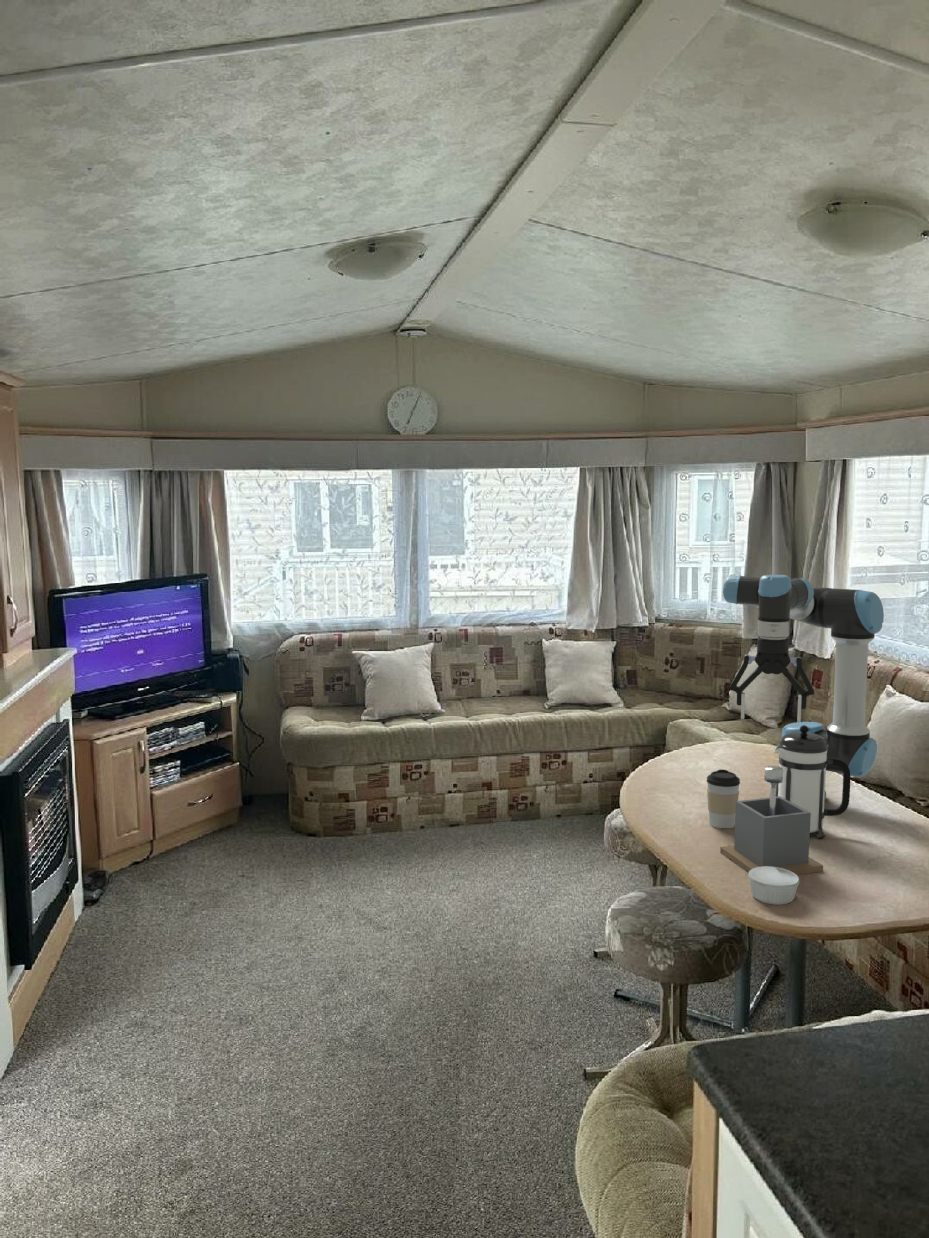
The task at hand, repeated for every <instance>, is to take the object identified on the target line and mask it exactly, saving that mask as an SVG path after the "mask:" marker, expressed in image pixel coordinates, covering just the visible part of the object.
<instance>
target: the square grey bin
mask: <svg viewBox="0 0 929 1238" xmlns="http://www.w3.org/2000/svg"><path fill="white" fill-rule="evenodd" d="M769 810H770V796H769V797H763V798H761V797H760V798H753V799H744V800H738V801H736V810H735V826H734V843H733V845H727V846H720V851H719V853H720V854H722V855H723V856H724V857H726V858H728V860H730V859H731V860H730V861H731V862H733V863H734V864H736V865H737V866H738V867H740V868H741V869H743V870H744V871H746V872H747V873H749V871H750V870H751V869H753V868H756V867H763V866H770V867H778V868H783V869H786V870H789V871H791V872H793V873H794V874H796V875H797V876H799V875H805V874H813V873H820V872H821V873H822V872H824V865H823V864H821V863H820V862H819V861H817V860H816V859H814V858H812V857H810V838H811V837H810V834H811V833H810V816H811V813H810V812H808V811H806V810H804V809H803V808H801V807H799V806H797V805H795V804H793V803H792V802H790V801H788V800H786V799H784V798H782V797H781V796H778V797H776V806H775V815H774V816H769Z"/></svg>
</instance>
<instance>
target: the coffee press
mask: <svg viewBox="0 0 929 1238" xmlns="http://www.w3.org/2000/svg"><path fill="white" fill-rule="evenodd" d="M808 730H809V729H808V727H807V726H805V725H803V726H801V727H800V731H801V732H792V733H788V734H786V735H784V736H783V737H782V736H781V739H780V740H778V744H777V745H776V747H775V748H774V750H773V752H772V753H773V754H777V755H778V763H779V764H778V765H779V767H782V768H783V782H782V783H779V787H778V796H781V797H782V798H784V799H786V800H788V801H790V802H792V803H793V804H795V805H797V806H799V807H801V808H803V809H804V810H806V811H808V812H810V813H811V816H810V834H811V833H814V834H815V835H816V837H817V838H818V839H819V840H821V839H822V840H823V839H825V838H826V834H825V832H824V830H823V826H824V819H825V817H836V816H839V815H842V814H844V813H845V811H847V810H848V807H849V804H850V796H851V794H850V793H851V776H850V770H849V768H848V766H847V765H846V763H845V762H844V761H842V760H840V759H837V758H833V759H830V758H829V759H828V758H826V757H827V751H828V748H829V746H828V744H827V743H826V741H825V739H824V738H823V737H821V736H819V735H817V734H813V733H808ZM827 764H833V765H837V766H839V767H841V769H842V771H843V774H842V796H841V802H840V805H839V806H838V807H836V808H825V802H824V799H825V791H826V774H827V771H826V767H827Z"/></svg>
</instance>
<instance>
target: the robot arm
mask: <svg viewBox="0 0 929 1238" xmlns="http://www.w3.org/2000/svg"><path fill="white" fill-rule="evenodd" d="M722 586H723V587H722V595H723V598H724V600H725V601H726V602H727V603H728V604H735V605H744V606H749V607H753V608H754V607H755V608H758V616H757V618H758V619H757V635H758V638H757V643H756V646H757V648H756V655H749V653H745V654H744V656H743V663H742V664H741V665H740V668H739V670H738V671H737V673H736V674H735V676H734V678H733V680H732V682H731V683H730V685H729V690H730V691H732V692H735V693H736V705H737V706H741V707H740V720H745V712H746V711H745V707H746V705H745V704H746V691H744V690H746V689H747V688H748V687H749V686H750V685H751V683H752V682H753V681H755V680H756V678H757V677H758V676H759V675H760V674H761V673H764V674H765V675H771V674H773V675H779V674H782V675H783V676H784V677H785V678H786V679H787V680H788V681H789V683H790V684H791V685H792V686H793V688H794V689H796V691H797V692H798V695H797V696H798V697H797V718H796V719H797V721H796V722H792V723H791V722H790V723H788V724H786V725H785V726H783V727H782V730H781V731H782V732H781V738H782V737H783V736H784V735H786V734H788V733H792V732H801V731H800V727H801V726H803V725H805V726H807V727H808V729H809V730H808V733H813V734H817V735H819V736H821V737H823V738H824V739H825V741H826V743H827V744H828V746H829V748H828V751H827V757H826V758H828V759H829V758H830V759H833V758H837V759H840V760H842V761H844V762H845V763H846V765H847V766H848V768H849V770H850V777H858V778H862V777H864V776H866V775H867V774H868V773H869V772H870V771H871V769H872V767H873V766H874V762H875V759H876V757H877V753H878V752H877V751H878V745H877V740H876V739H874V738H873V737H870V733H871V730H870V728H869V727H867V726H866V724H865V723H866V722H865V720H866V719H865V718H866V704H867V703H866V702H867V701H866V699H867V681H868V680H867V679H868V658H869V657H868V656H869V654H868V653H869V644H870V642H872V641H873V640H874V639H875V634H878V633H880V632H881V630H882V628H883V623H884V618H885V616H884V615H885V614H884V612H885V611H884V607H883V603H882V600H881V599H880V596H879V595H878V594H877V593H875V592H873V591H869V590H864V589H850V588H835V587H834V588H831V587H813V585H812V583H811V582H810V581H808V580H807V579H805V578H799V577H798V578H797V577H793V578H791V577H790V576H789V575H787V574H764V575H762V576H749V575H741V574H739V575H729V576H727V578H726V579H725V581H724V583H723V585H722ZM790 619H791V620H794V621H798V622H801V623H804V624H808V625H809V626H815V627H817V628H824V629H830V637H831V638H832V639H833V640H834V641H835V660H834V661H835V664H834V665H835V666H834V669H835V670H834V681H833V682H834V683H833V684H834V687H833V710H832V712H833V713H832V722H831V723H830V724H829V725H828V726H827V727H826V730H825V727H824V725H823V724H822V723H820V722H816V721H802V720H801V719H802V710H806V708H807V697H809V696H814V695H815V688H814V686H813V685H812V683H811V680H810V679H809V677H808V674H807V673H806V671H805V668H804V666H803V663H802V657H801V656H799V655H798V656H796V657H790V655H789V648H790V639H789V638H788V637H789V636H790V624H791V623H790ZM753 662H755V663H756V665H757V667H756V668H755V670H753V672H751V673H750V675H748V676H747V677H746V679H745V680H744V681H743V682H742V683H741V684H740V685H738V684H739V682H740V680H741V679H742V677H743V675H744V673H745V672H746V670H747V668H748V665H751V664H752V663H753ZM790 663H792V664H793V666H794V667H796V668H797V671H798V673H799V675H800V677H801V679H802V681H803V683H804V685H805V687H806V689H805V688H804V687H803V686H802V685H801V683H800V682H799V681H798V680H797V679H796V678H795V676H794V675H793V674H792V673H791V672H790V670H789V669H788V668H787V667H788V666H789V665H790ZM826 772H833V773H835V774H842V775H843V771H842V769H841V767H839V766H837V765H833V764H827V767H826ZM778 787H779V783H776V797H778ZM826 801H827V792H826V790H825V799H824V803H826Z"/></svg>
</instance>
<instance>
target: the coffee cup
mask: <svg viewBox="0 0 929 1238" xmlns="http://www.w3.org/2000/svg"><path fill="white" fill-rule="evenodd" d="M706 784H707V789H706V794H707V810H708V821H709V826H711V827H713V828H715V827H716V829H721V828H729V829H732V828H735V810H736V801H739V795H740V791H739V790H740V789H739V787H740V784H741V779H740V778H739V777H738V776H737V775H736V774H735V773H734V772H731V771H729V770H727V769H718V770H716V771H712V772H711V773H710V774H709V775H707V777H706Z"/></svg>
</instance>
